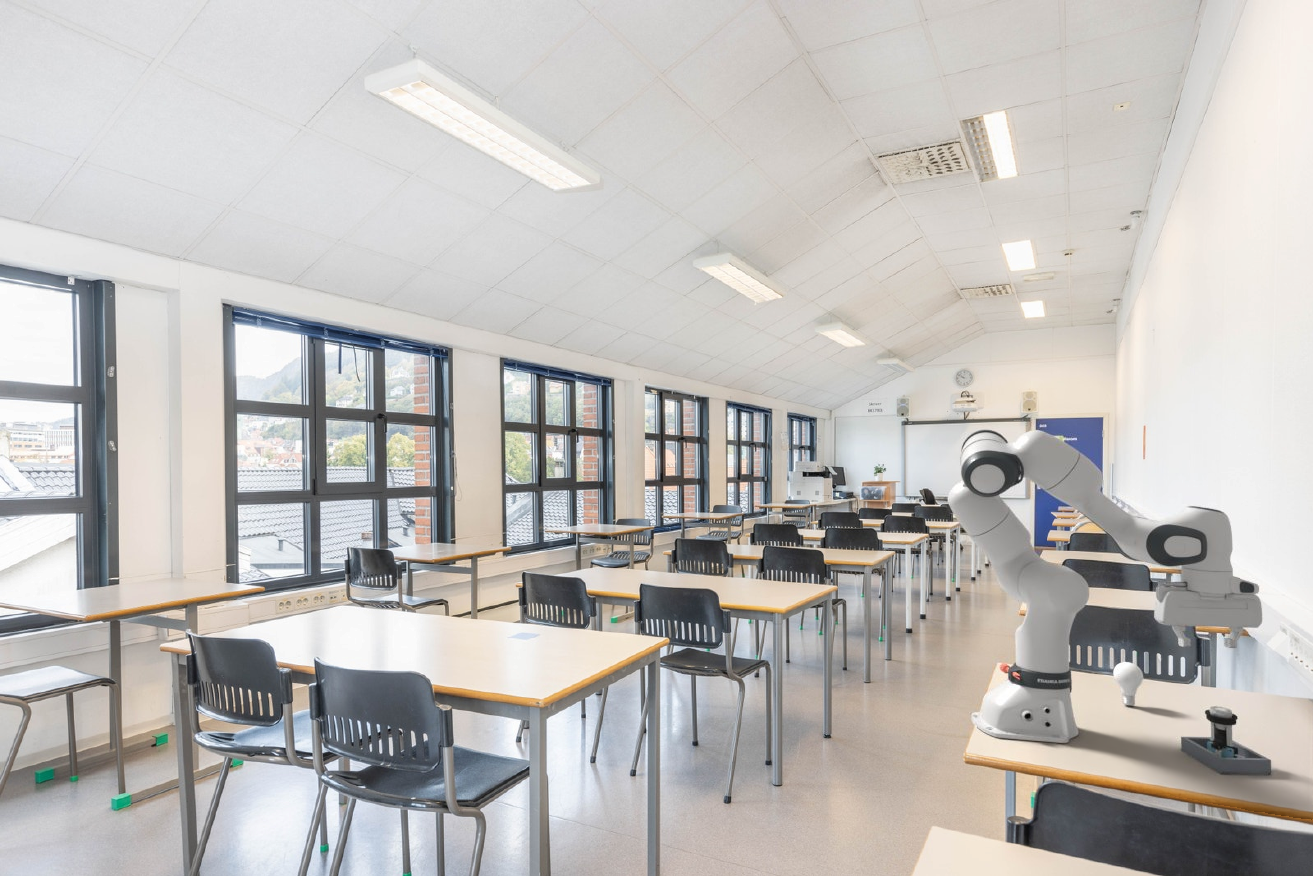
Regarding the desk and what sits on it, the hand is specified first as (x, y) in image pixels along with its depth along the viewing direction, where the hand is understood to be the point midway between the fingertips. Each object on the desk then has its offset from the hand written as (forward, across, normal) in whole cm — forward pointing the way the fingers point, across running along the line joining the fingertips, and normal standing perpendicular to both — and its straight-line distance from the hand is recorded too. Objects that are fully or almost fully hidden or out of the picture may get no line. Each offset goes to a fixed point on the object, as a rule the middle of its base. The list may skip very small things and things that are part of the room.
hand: (1207, 647), depth 153 cm
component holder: (+22, 0, -5) cm, 23 cm away
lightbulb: (+23, 0, +29) cm, 37 cm away
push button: (+22, 0, -5) cm, 23 cm away
